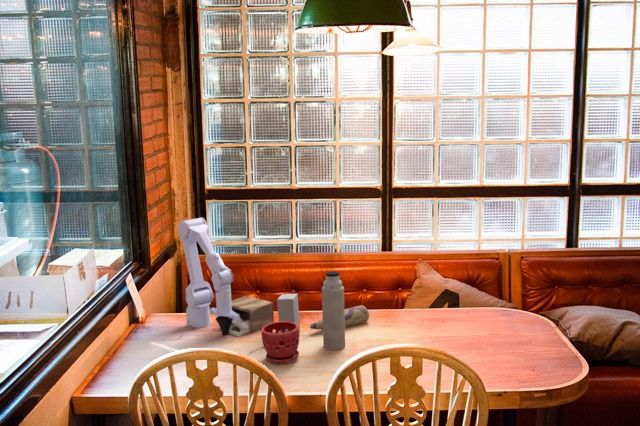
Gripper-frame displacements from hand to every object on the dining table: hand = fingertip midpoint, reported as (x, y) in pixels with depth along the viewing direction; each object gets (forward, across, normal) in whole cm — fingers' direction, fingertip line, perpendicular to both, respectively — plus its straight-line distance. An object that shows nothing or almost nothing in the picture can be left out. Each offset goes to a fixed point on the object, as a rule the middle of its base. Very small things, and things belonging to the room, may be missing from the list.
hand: (225, 334), depth 253 cm
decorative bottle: (+1, +29, +34) cm, 45 cm away
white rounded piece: (-2, +1, +8) cm, 8 cm away
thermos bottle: (+1, +40, +16) cm, 44 cm away
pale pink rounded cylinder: (-2, +3, +11) cm, 12 cm away
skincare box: (+1, +19, +15) cm, 25 cm away
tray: (+2, +1, +8) cm, 8 cm away
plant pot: (+1, +32, -4) cm, 33 cm away
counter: (+1, 0, +13) cm, 13 cm away
